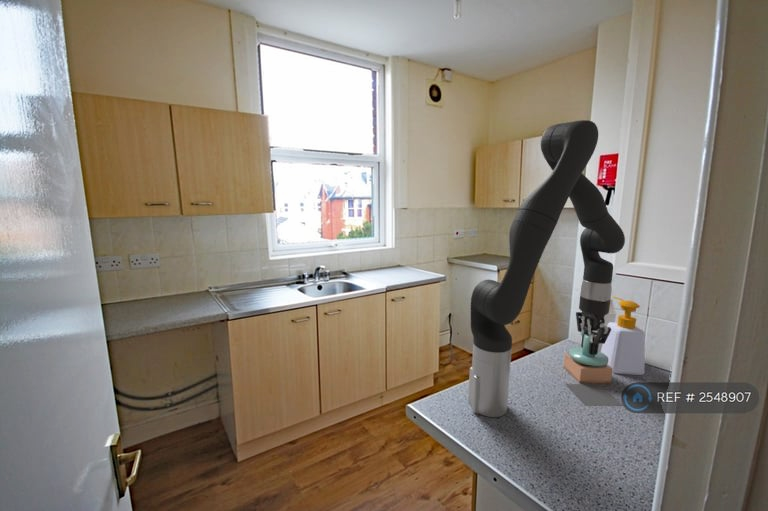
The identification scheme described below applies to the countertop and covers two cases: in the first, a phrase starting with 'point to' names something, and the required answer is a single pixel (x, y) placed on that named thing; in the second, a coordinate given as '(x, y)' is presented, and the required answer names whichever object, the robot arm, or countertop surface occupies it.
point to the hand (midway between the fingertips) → (588, 350)
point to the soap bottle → (625, 343)
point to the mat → (593, 395)
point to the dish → (587, 371)
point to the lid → (584, 356)
